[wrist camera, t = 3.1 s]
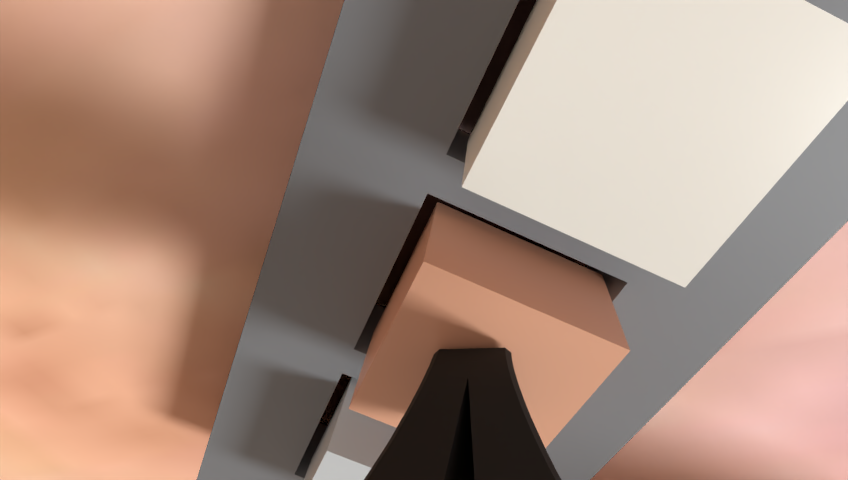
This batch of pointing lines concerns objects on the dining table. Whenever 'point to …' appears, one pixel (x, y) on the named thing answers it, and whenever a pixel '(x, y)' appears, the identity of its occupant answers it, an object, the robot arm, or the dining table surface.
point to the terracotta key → (492, 321)
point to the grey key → (348, 443)
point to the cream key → (656, 119)
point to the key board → (442, 177)
